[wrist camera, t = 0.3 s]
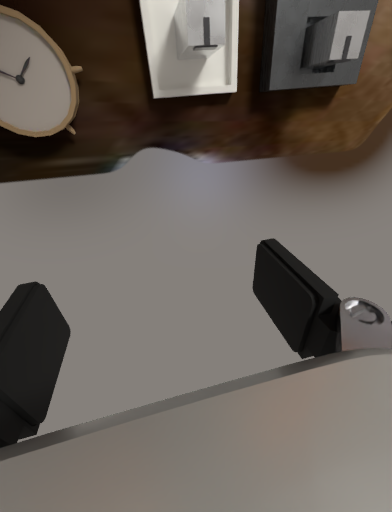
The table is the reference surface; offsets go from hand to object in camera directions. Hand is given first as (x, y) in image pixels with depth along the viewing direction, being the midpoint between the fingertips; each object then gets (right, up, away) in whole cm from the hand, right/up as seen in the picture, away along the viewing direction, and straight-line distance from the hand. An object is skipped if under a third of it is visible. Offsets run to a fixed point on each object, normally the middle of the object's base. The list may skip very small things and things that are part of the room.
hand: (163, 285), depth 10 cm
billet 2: (+18, +30, +21) cm, 41 cm away
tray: (+1, +29, +18) cm, 34 cm away
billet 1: (+1, +29, +17) cm, 34 cm away
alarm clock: (-21, +23, +16) cm, 35 cm away
